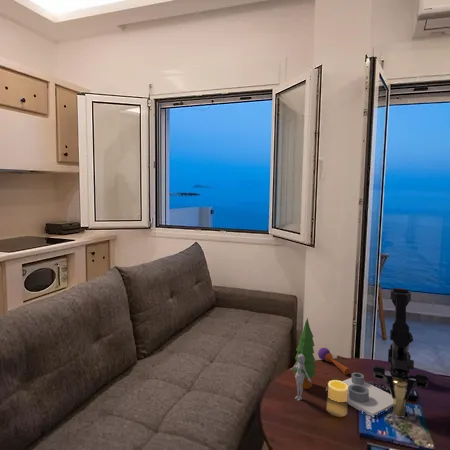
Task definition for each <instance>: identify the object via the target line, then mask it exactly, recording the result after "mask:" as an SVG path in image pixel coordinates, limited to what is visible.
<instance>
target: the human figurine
mask: <svg viewBox="0 0 450 450" xmlns="http://www.w3.org/2000/svg"><path fill="white" fill-rule="evenodd" d="M304 362H305V357H304V355H303V354H300V355H298V362H297V364H296V365H295V364H294V365H293V367H291V368H290V370H293V368H295V367H296V368H297V373H296V375H295V374H294V375H295V376H294V377H295V378H294V380H295V382H296V391H297V393H296V396H295V397H294V399H295V400H296V401H301V400H302V399H303V397H302V394H303V390H304V388H302V385H303V381H304V377H305V375H304V373H303V372H301V370H302V369H303V370H304V371H305V374H306V376H307V377H308V380H309V382H310V383H311V384H312V379H311V378H309V376H308V373H307V372H306V370H305V366H304ZM299 384H300V385H299Z"/></svg>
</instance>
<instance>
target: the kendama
mask: <svg viewBox="0 0 450 450" xmlns="http://www.w3.org/2000/svg"><path fill="white" fill-rule="evenodd" d="M317 355H318V357H319V359H320V360H321V361H325V362H332V363H333V364H334V365H335V366H336V367H337V368H338V369H339V370H340V372H342V373H343V375H345V376H348V375H347V374H349V375H350V374H351V368H349V367H347V366H346V365H343V364H342V363H340V362H339V361H337V360H335V359H334V357H333V355H332V353H331V352H330V349H328V348H327V347H320V348H319V349H318V352H317Z"/></svg>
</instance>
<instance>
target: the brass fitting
mask: <svg viewBox="0 0 450 450" xmlns="http://www.w3.org/2000/svg"><path fill="white" fill-rule="evenodd" d="M392 381H393V390H394V400H393V408H392V414H393V413H394V414H395V415H397V416H405V417H406V402H407V401H406V391H407V385H408V380H404V379H402V378H392Z"/></svg>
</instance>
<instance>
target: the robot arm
mask: <svg viewBox="0 0 450 450" xmlns="http://www.w3.org/2000/svg"><path fill="white" fill-rule="evenodd" d="M390 300H391V302H392V304H393V306H394V307H395V309H394V323H392V326H391V327H392V328H391V329H390V330H389V331H390V332H389V340H390V341H392V342H391V344H390V346H389V348H388V353H387V357H388V358H387V363H390V366H389V367H390V368H389V369H390V370H385V366H384V367H383V366H377V365H374V366H373V367H372V369H373V370H372V373H373V375H372V376H373V378H375V379H379V380H383V382H385V383H386V385H387V387H388V389H389V392H390V394H391V395H392V398H393V399H394V384H393V379H394V378H402V379H404V380H406V381H407V382H408V383H407V387H406V401H405V402H407V401H408V399H409V396H410V393H411V392H412V390H413V388H417V387H421V388H428V386H429V381H430V380H429V376H428V375H427V374H423V373H418V372H416V374H415V375H412V374H411V375H410V374H409V373H410V370H414V368H415V367H414V366H415V365H414V364H415V362H414V361H415V360H413V359H411V355H410V352H409V349H410V344H411V343H412V342H414V337H413V334H412V332H410V326H409V325H408V323H407V306H408V305H409V303H410V302H411V301H412V291H409V289H408V288H400V287H399V288H397V287H393V289H391V290H390Z"/></svg>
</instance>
